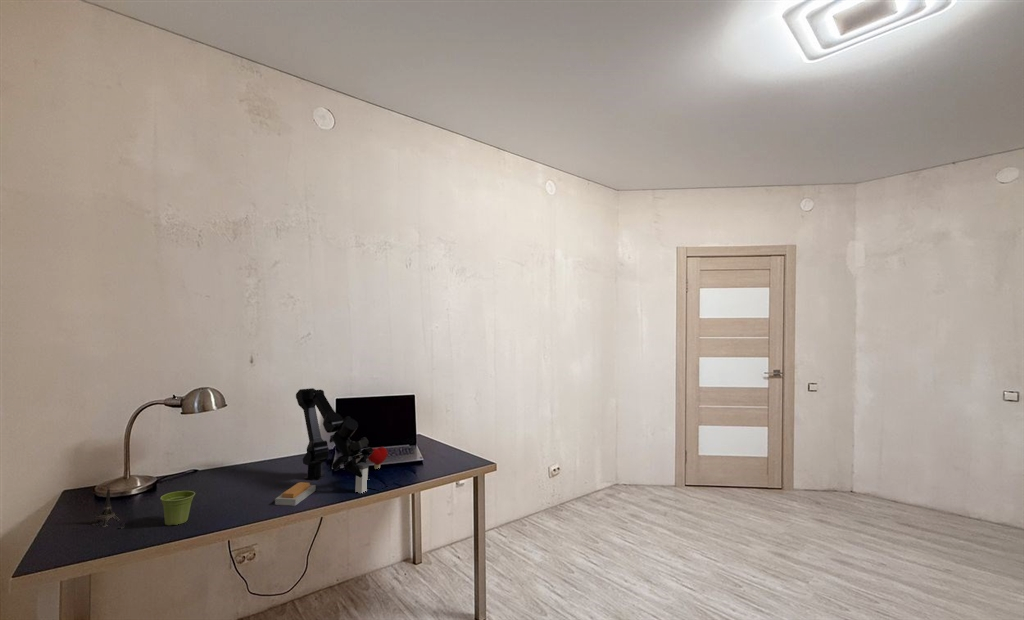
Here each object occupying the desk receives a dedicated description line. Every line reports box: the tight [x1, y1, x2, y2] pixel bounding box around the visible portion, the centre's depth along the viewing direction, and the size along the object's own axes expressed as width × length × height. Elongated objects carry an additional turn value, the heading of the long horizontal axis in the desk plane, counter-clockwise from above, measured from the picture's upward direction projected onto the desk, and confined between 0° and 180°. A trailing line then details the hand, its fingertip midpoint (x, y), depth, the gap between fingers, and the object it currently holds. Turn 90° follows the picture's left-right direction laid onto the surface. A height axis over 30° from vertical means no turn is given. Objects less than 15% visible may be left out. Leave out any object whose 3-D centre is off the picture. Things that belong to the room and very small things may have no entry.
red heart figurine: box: [367, 446, 388, 470], centre depth 218 cm, size 9×7×10 cm
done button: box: [281, 481, 310, 498], centre depth 181 cm, size 13×4×2 cm, turn 178°
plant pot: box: [160, 490, 196, 526], centre depth 156 cm, size 9×9×9 cm
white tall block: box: [354, 462, 370, 494], centre depth 189 cm, size 4×4×11 cm
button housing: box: [274, 484, 317, 507], centre depth 180 cm, size 16×8×2 cm, turn 178°
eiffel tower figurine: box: [91, 485, 126, 529], centre depth 154 cm, size 15×10×13 cm
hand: (364, 475), depth 188 cm, fingers closed on white tall block, 3 cm apart
